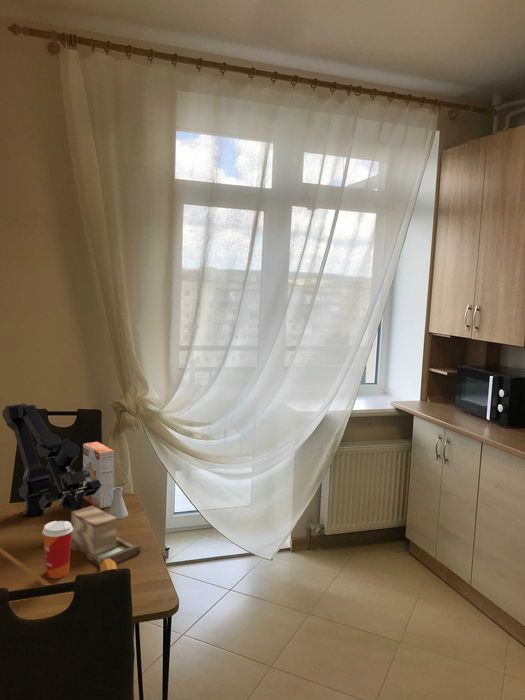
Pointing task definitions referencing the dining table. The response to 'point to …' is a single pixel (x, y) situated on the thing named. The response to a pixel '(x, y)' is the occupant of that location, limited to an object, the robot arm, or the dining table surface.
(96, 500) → the cracker box
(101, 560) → the tan shallow tray
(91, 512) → the tea box
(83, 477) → the robot arm
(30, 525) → the dining table surface
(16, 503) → the dining table surface
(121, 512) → the flask
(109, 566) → the carrot
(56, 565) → the paper cup
